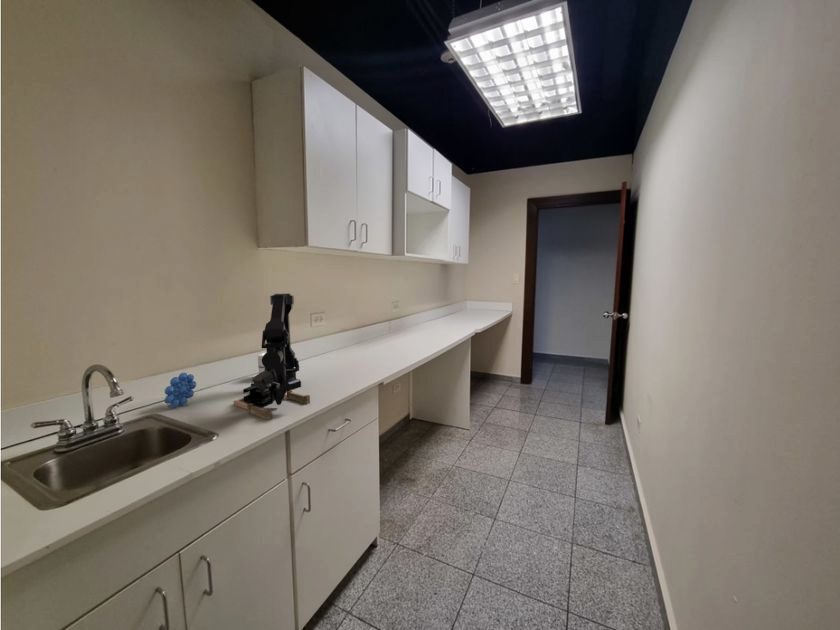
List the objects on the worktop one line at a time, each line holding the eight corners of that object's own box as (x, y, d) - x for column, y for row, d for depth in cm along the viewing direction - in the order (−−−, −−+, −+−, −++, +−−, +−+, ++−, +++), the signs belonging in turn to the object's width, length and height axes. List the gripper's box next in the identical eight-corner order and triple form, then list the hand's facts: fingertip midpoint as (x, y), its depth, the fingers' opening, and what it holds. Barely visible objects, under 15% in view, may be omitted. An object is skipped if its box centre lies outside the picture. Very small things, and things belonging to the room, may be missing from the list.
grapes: (189, 398, 133) (186, 368, 132) (201, 400, 131) (199, 370, 130) (157, 409, 122) (154, 377, 121) (171, 412, 120) (167, 378, 119)
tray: (268, 393, 139) (267, 389, 138) (287, 399, 132) (287, 395, 132) (233, 404, 127) (233, 400, 127) (253, 411, 121) (253, 407, 120)
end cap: (278, 401, 131) (277, 383, 130) (264, 407, 124) (263, 389, 123) (257, 398, 134) (256, 381, 133) (242, 404, 127) (241, 386, 127)
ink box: (268, 381, 154) (267, 355, 153) (258, 381, 155) (257, 355, 154) (279, 375, 163) (277, 351, 161) (269, 375, 164) (268, 351, 162)
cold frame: (290, 397, 134) (289, 390, 134) (310, 403, 128) (309, 395, 128) (247, 412, 119) (247, 404, 119) (268, 420, 114) (267, 411, 113)
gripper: (239, 363, 120) (242, 406, 122) (272, 370, 110) (275, 417, 112) (268, 357, 129) (270, 397, 131) (301, 363, 119) (303, 406, 121)
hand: (278, 404), depth 123 cm, fingers closed
